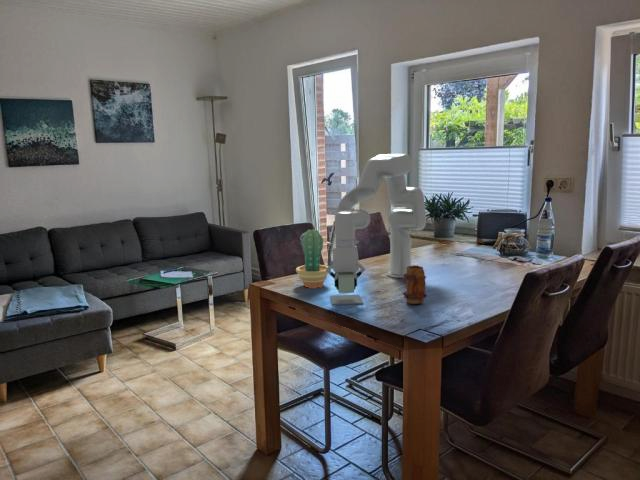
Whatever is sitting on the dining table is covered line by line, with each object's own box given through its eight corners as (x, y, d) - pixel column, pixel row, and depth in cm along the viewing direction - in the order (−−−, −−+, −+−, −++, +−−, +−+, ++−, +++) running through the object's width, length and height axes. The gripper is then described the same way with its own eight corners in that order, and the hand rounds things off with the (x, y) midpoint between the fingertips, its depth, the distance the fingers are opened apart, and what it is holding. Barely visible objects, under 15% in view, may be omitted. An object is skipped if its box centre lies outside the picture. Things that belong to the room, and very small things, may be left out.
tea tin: (352, 288, 201) (352, 271, 200) (354, 292, 195) (354, 274, 194) (337, 289, 200) (337, 271, 199) (338, 293, 194) (338, 275, 193)
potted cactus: (327, 280, 231) (326, 226, 227) (333, 288, 216) (332, 231, 212) (294, 282, 229) (292, 228, 225) (298, 291, 214) (296, 233, 210)
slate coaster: (359, 295, 205) (359, 294, 204) (363, 304, 193) (363, 303, 193) (330, 297, 204) (329, 295, 204) (332, 305, 192) (332, 304, 192)
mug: (401, 300, 198) (401, 262, 195) (421, 299, 198) (421, 261, 196) (411, 311, 183) (411, 271, 181) (432, 310, 184) (433, 270, 181)
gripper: (366, 241, 199) (366, 285, 202) (322, 242, 198) (323, 286, 201) (368, 244, 191) (368, 290, 194) (323, 245, 190) (324, 291, 193)
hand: (345, 288), depth 197 cm, fingers closed on tea tin, 6 cm apart
